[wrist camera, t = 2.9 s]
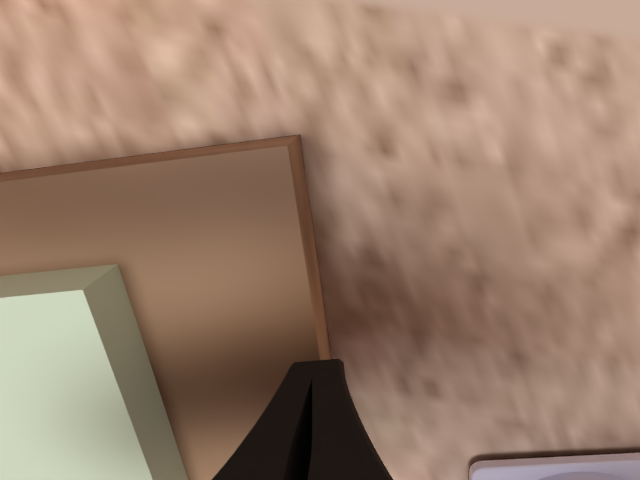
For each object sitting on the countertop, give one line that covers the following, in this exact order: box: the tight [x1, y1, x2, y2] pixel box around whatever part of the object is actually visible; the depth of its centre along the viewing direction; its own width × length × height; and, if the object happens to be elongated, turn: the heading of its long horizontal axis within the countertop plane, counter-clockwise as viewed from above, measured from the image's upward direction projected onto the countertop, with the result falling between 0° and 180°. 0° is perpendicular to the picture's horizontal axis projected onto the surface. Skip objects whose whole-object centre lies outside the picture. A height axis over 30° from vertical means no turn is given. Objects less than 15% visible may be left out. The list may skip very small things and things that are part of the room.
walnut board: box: [0, 135, 331, 480], centre depth 14 cm, size 15×14×3 cm
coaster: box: [0, 264, 188, 480], centre depth 11 cm, size 8×8×2 cm
